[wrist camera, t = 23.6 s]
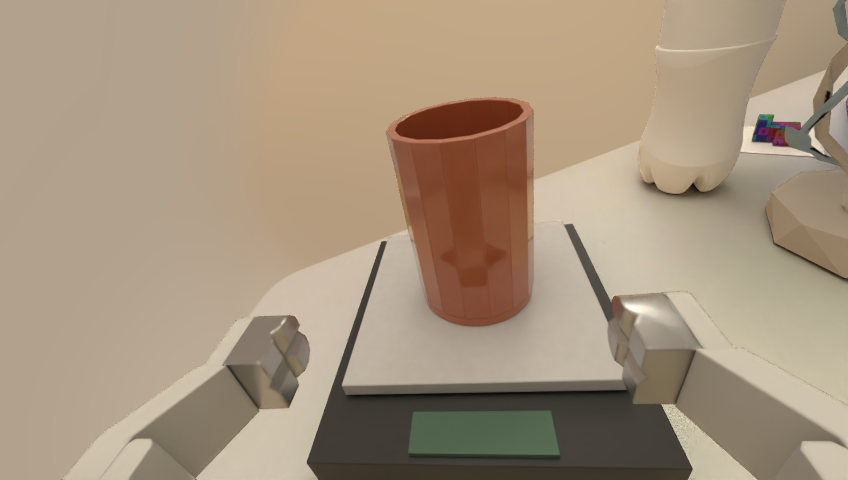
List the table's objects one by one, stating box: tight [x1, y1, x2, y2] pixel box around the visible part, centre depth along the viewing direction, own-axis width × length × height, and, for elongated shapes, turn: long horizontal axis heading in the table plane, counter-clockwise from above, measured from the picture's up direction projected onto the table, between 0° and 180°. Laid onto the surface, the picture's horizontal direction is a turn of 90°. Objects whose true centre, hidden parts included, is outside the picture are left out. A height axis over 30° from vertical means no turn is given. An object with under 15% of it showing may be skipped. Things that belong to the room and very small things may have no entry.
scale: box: [307, 221, 693, 480], centre depth 21 cm, size 15×17×3 cm
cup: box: [386, 97, 534, 326], centre depth 19 cm, size 6×6×10 cm
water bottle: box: [638, 0, 786, 194], centre depth 26 cm, size 7×7×25 cm
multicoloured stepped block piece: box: [751, 114, 801, 147], centre depth 35 cm, size 4×3×2 cm, turn 52°
